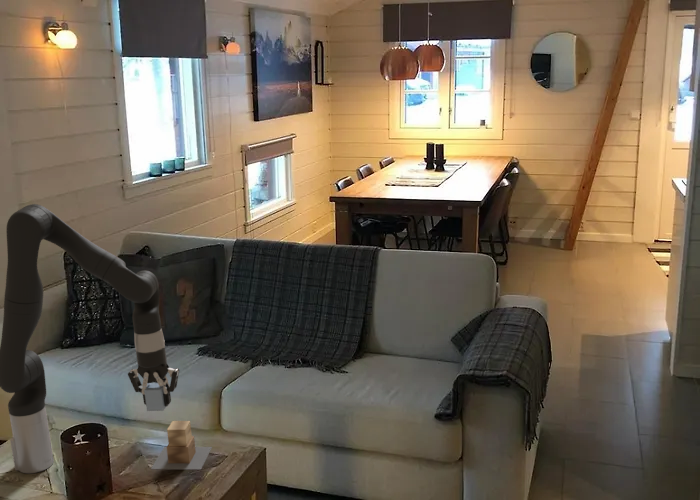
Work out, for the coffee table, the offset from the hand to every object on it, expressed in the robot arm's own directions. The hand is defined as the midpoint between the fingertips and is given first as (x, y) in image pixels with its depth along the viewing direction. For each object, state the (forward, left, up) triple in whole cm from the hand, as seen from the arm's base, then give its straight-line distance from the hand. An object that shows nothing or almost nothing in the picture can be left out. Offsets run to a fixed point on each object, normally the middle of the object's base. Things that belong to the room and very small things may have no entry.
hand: (158, 404), depth 201 cm
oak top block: (+4, +3, -13) cm, 13 cm away
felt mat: (+4, +3, -18) cm, 19 cm away
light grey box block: (0, 0, -1) cm, 1 cm away
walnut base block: (+4, +3, -18) cm, 18 cm away
